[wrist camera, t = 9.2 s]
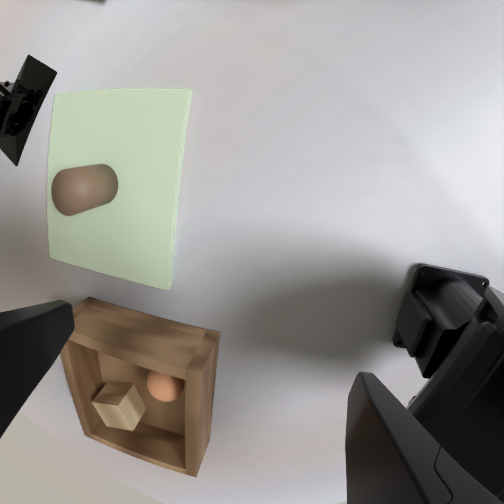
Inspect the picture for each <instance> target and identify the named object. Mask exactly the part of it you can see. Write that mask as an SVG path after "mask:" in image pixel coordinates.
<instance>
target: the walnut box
mask: <svg viewBox="0 0 504 504" xmlns="http://www.w3.org/2000/svg"><path fill="white" fill-rule="evenodd" d="M73 315H74V322H75V328H74V331H73V333H72V334H71V336H70V338H69V339H68V341H67V342H66V344H65V346H64V347H63V349H62V350H61V352H60V354H61V358H62V362H63V366H64V370H65V374H66V378H67V381H68V385H69V388H70V392H71V395H72V398H73V402H74V405H75V408H76V411H77V414H78V417H79V420H80V423H81V426H82V429H83V431H84V434H85V436H87V437H89V438H92V439H94V440H96V441H98V442H100V443H102V444H105V445H107V446H109V447H112V448H114V449H116V450H119V451H121V452H123V453H126V454H128V455H131V456H133V457H136V458H139V459H141V460H144V461H147V462H150V463H152V464H155V465H158V466H161V467H164V468H167V469H170V470H173V471H177V472H180V473H183V474H187V475H190V476H194V477H196V476H197V473H198V471H199V468H200V465H201V463H202V460H203V457H204V454H205V451H206V449H207V446H208V443H209V440H210V429H211V418H212V407H213V397H214V387H215V377H216V367H217V357H218V347H219V338H220V332H216V331H212V330H208V329H203V328H199V327H195V326H191V325H187V324H183V323H179V322H175V321H171V320H167V319H163V318H160V317H156V316H152V315H148V314H145V313H141V312H138V311H134V310H131V309H127V308H124V307H120V306H117V305H114V304H110V303H107V302H104V301H100V300H97V299H94V298H91V297H88V298H87V299H85V300H84V301H83V302H81V303H80V304H79V305H77V306H76V307H75V308H73ZM152 370H153V371H157V372H160V373H163V374H167V375H170V376H173V377H177V378H180V379H183V380H184V389H183V392H182V393H181V395H180V396H179V397H178V398H177V399H175V400H173V401H169V402H164V401H160V400H158V399H156V398H154V397H153V396H152V395H151V393H150V392H149V390H148V387H147V378H148V375H149V373H150V372H151V371H152ZM107 382H116V383H129V384H134V385H135V387H136V389H137V391H138V393H139V395H140V397H141V399H142V401H143V403H144V405H145V407H146V408H147V409H146V410H145V412H144V414H143V415H142V417H141V419H140V420H139V422H138V424H137V425H136V427H135V429H134V430H133V431H131V430H125V429H119V428H113V427H108V426H106V424H105V423H104V421H103V420H102V418H101V416H100V415H99V413H98V412H97V410H96V408H95V407H94V405H93V403H92V401H93V400H94V399H95V397H96V396H97V395H98V394H99V392H100V391H101V390H102V389H103V387H104V386H105V385H106V384H107Z"/></svg>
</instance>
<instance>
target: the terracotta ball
mask: <svg viewBox="0 0 504 504" xmlns="http://www.w3.org/2000/svg"><path fill="white" fill-rule="evenodd" d="M147 387H148V390H149V392H150V393H151V395H152V396H153V397H154V398H156V399H158V400H160V401H164V402H169V401H173V400H175V399H177V398H178V397H179V396H180V395H181V393H182V392H183V389H184V380H183V379H180V378H177V377H173V376H170V375H167V374H163V373H160V372H157V371H153V370H152V371H151V372H150V373H149V375H148V378H147Z"/></svg>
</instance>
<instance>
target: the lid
mask: <svg viewBox="0 0 504 504" xmlns="http://www.w3.org/2000/svg"><path fill="white" fill-rule="evenodd" d="M191 96H192V90H190V89H174V88H131V89H106V90H90V91H78V92H68V93H59V94H55V98H54V105H53V112H52V121H51V130H50V142H49V156H48V177H47V221H48V243H49V257H50V258H52V259H55V260H59V261H62V262H65V263H69V264H72V265H75V266H79V267H82V268H86V269H89V270H93V271H96V272H100V273H103V274H107V275H110V276H114V277H118V278H121V279H125V280H129V281H132V282H136V283H140V284H144V285H148V286H151V287H155V288H159V289H163V290H167V291H169V290H170V289H171V288H172V275H173V258H174V244H175V231H176V219H177V208H178V197H179V187H180V178H181V169H182V161H183V153H184V145H185V137H186V130H187V123H188V116H189V109H190V103H191Z"/></svg>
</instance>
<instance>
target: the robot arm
mask: <svg viewBox="0 0 504 504" xmlns="http://www.w3.org/2000/svg"><path fill="white" fill-rule="evenodd" d="M424 269H426V272H425V273H424V274H421V272H422V270H424ZM483 282H484V285H482V283H483ZM396 326H397V328H396V330H395V333H394V335H393V338H392V342H393V344H394V346H395V347H400V348H406V349H407V351H408V354H409V355H410V357H412V358H415V360H416V362H417V364H418V367H419V369H420V371H421V374H422V376H423V378H428V379H429V380H428V381H427V383H426V384H425V385H424V386H423V388H422V389H421V390H420V391H419V393H418V394H417V395H416V396H414V397H413V398H412V399H411V400H410V401H409V404H408V406H407V407H406V408H405V407H404V406H403V405H402V404H401V403H400V402H399V400H398V399H397V398H396V397H395V396H394V395H393V394H392V393H391V392H390V391H389V390H388V389H387V388H386V387H385V386H384V385H383V383H382V382H381V381H380V380H379V379H378V378H377V377H376V376H375V375H374V374H373V373H368V372H359V373H358V374H357V376H356V378H355V381H354V383H353V385H352V388H351V390H350V392H349V396H348V406H347V424H346V439H345V453H346V478H347V504H504V294H503V293H502V292H500V291H498V290H496V289H494V288H493V287H491V286H489V280H488V279H487V278H486V277H484V276H479V275H475V274H470V273H466V272H461V271H456V270H452V269H447V268H442V267H437V266H433V265H428V264H421V265H419V266H418V267H417V269H416V272H415V276H414V279H413V282H412V285H411V288H410V291H408V292H407V293H406V295H405V298H404V301H403V304H402V307H401V309H400V312H399V315H398V318H397V321H396ZM74 328H75V322H74V315H73V308H72V305H71V304H70V303H68V302H66V301H63V300H58V301H53V302H48V303H44V304H39V305H34V306H29V307H25V308H20V309H15V310H10V311H6V312H1V313H0V438H1V437H2V435H3V434H4V432H5V431H6V429H7V428H8V426H9V425H10V423H11V422H12V420H13V419H14V417H15V416H16V414H17V413H18V411H19V410H20V409H21V407H22V406H23V404H24V403H25V401H26V400H27V399H28V397H29V396H30V394H31V393H32V392H33V390H34V389H35V388H36V386H37V385H38V383H39V382H40V381H41V379H42V378H43V377H44V375H45V374H46V373H47V371H48V370H49V369H50V367H51V366H52V365H53V363H54V362H55V360H56V359H57V357H58V355H59V354H60V352H61V350H62V349H63V347H64V346H65V344H66V342H67V341H68V339H69V338H70V336H71V334H72V333H73V331H74ZM398 339H401V340H400V341H398V342H397V340H398Z"/></svg>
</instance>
